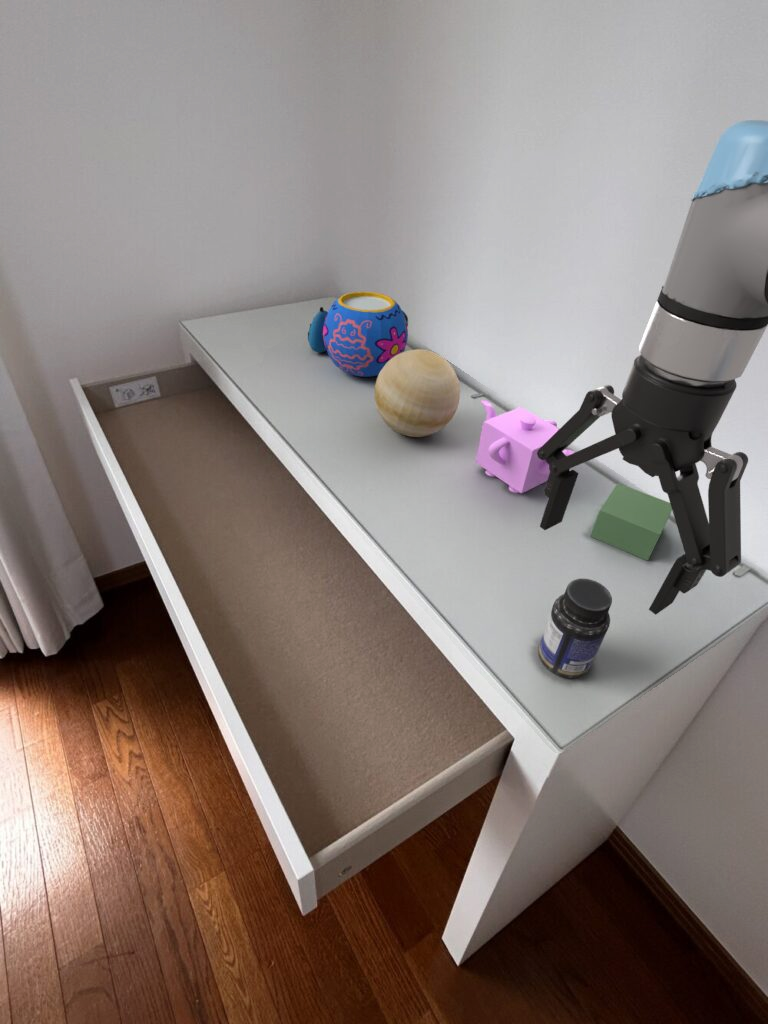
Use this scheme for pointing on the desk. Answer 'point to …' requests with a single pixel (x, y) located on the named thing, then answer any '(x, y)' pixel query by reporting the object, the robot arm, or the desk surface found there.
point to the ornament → (317, 332)
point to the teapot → (515, 447)
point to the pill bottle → (575, 628)
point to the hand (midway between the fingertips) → (601, 562)
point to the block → (631, 521)
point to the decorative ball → (417, 393)
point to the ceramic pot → (364, 332)
